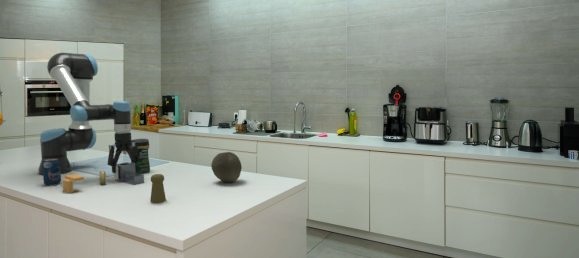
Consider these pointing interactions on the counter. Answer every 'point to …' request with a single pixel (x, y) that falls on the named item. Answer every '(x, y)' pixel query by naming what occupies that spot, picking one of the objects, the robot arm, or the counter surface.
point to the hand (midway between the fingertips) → (124, 177)
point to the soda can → (51, 172)
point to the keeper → (70, 182)
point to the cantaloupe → (226, 166)
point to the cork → (157, 189)
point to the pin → (102, 178)
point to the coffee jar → (142, 155)
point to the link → (129, 174)
